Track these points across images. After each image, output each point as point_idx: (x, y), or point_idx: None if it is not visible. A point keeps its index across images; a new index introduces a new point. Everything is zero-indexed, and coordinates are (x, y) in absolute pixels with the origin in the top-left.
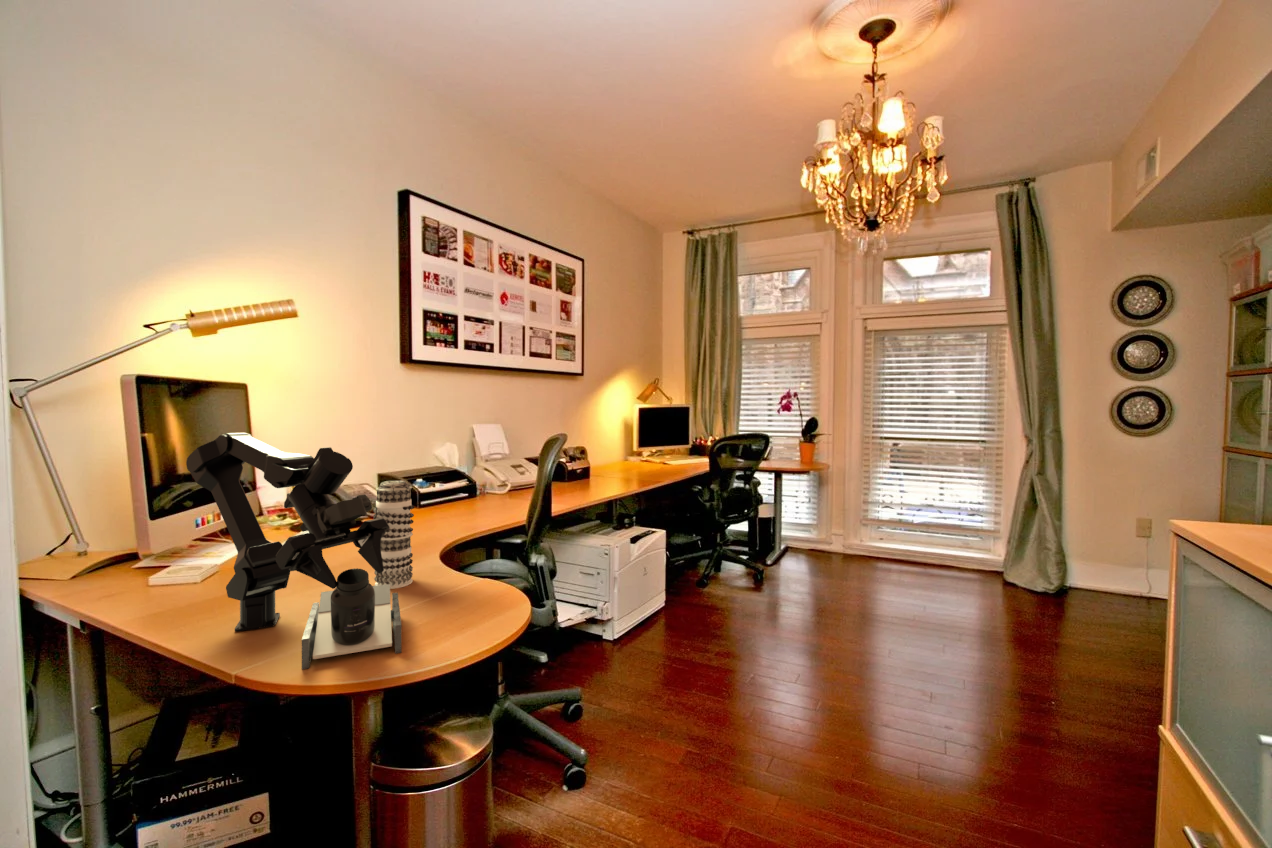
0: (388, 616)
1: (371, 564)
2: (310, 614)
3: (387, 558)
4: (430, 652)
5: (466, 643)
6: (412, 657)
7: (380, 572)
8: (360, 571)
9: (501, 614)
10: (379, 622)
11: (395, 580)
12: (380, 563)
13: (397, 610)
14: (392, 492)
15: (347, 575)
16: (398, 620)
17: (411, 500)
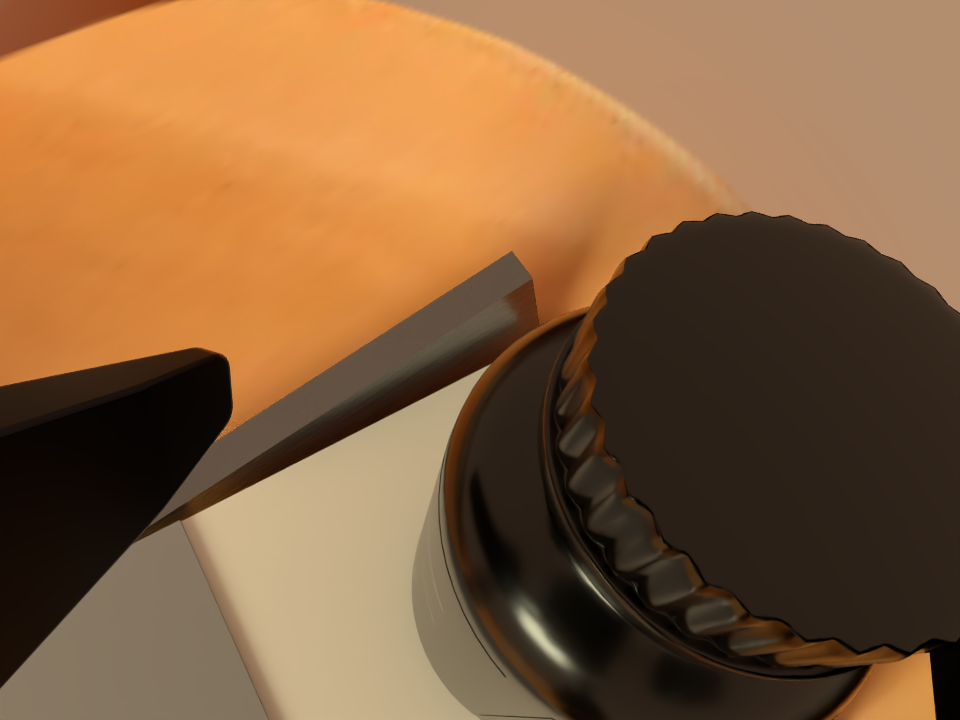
0: (325, 464)
1: (81, 574)
2: None
3: None
4: (498, 192)
5: (388, 97)
6: (561, 241)
7: (230, 393)
8: (657, 359)
9: (69, 101)
10: (397, 488)
11: None
12: (132, 377)
13: (285, 412)
14: None
15: (850, 490)
16: (451, 305)
17: None
